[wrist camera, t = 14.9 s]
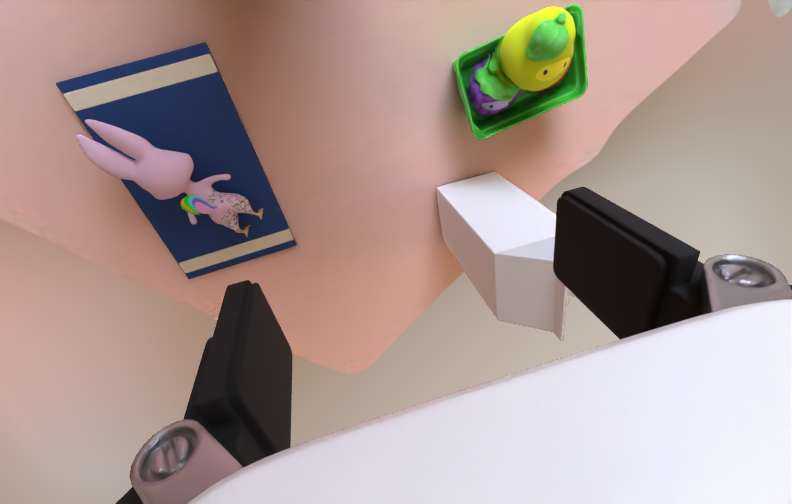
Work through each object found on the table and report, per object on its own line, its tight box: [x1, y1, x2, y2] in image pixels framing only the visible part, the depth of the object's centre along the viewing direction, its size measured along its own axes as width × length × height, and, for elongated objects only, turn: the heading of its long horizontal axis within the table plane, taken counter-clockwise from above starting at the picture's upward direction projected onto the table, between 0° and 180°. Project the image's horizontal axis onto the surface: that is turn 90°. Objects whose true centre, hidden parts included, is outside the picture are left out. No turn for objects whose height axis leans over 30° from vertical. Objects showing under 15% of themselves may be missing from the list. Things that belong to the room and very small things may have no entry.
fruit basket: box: [453, 4, 588, 140], centre depth 31 cm, size 11×9×11 cm
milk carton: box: [436, 172, 577, 341], centre depth 35 cm, size 7×7×19 cm
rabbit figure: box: [76, 119, 263, 237], centre depth 32 cm, size 6×6×15 cm
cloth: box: [56, 43, 296, 279], centre depth 35 cm, size 20×12×1 cm, turn 13°
